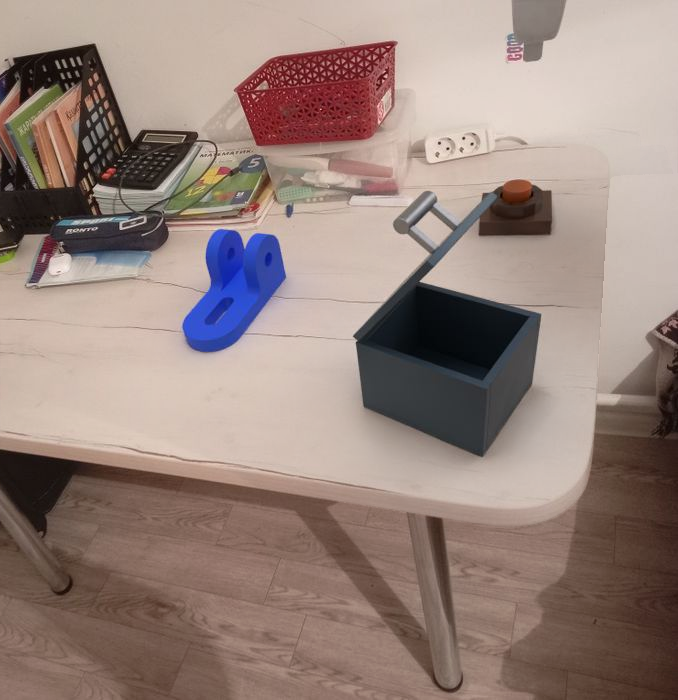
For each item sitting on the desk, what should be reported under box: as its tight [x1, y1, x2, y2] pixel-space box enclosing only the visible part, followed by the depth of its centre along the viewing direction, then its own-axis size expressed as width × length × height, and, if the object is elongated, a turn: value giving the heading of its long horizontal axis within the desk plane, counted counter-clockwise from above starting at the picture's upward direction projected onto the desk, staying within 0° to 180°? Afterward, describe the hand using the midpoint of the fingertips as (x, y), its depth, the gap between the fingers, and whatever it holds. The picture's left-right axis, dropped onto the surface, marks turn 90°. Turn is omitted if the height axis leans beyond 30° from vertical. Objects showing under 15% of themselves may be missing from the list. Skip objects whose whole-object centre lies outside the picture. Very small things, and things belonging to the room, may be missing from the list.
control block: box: [478, 184, 553, 236], centre depth 87 cm, size 9×8×4 cm
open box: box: [355, 281, 542, 458], centre depth 65 cm, size 14×12×10 cm
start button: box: [502, 179, 533, 203], centre depth 86 cm, size 4×4×2 cm
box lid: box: [352, 190, 497, 342], centre depth 60 cm, size 14×12×5 cm
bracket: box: [181, 228, 287, 353], centre depth 86 cm, size 18×8×9 cm, turn 147°
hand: (532, 56), depth 67 cm, fingers closed
